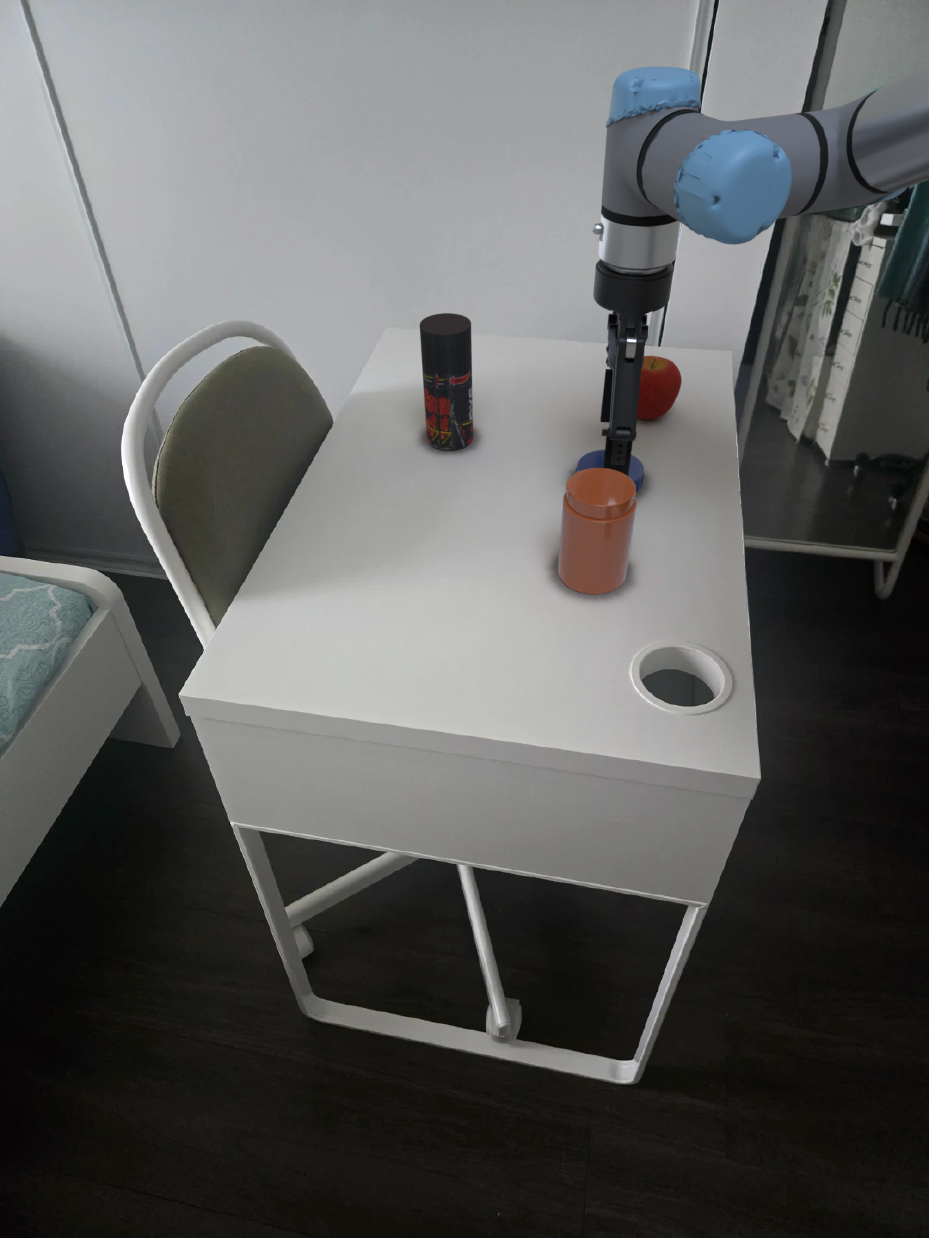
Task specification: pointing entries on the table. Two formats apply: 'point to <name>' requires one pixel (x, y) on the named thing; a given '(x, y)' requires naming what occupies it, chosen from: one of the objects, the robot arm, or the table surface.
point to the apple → (657, 387)
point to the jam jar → (596, 530)
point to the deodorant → (447, 380)
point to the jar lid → (596, 461)
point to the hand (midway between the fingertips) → (612, 451)
